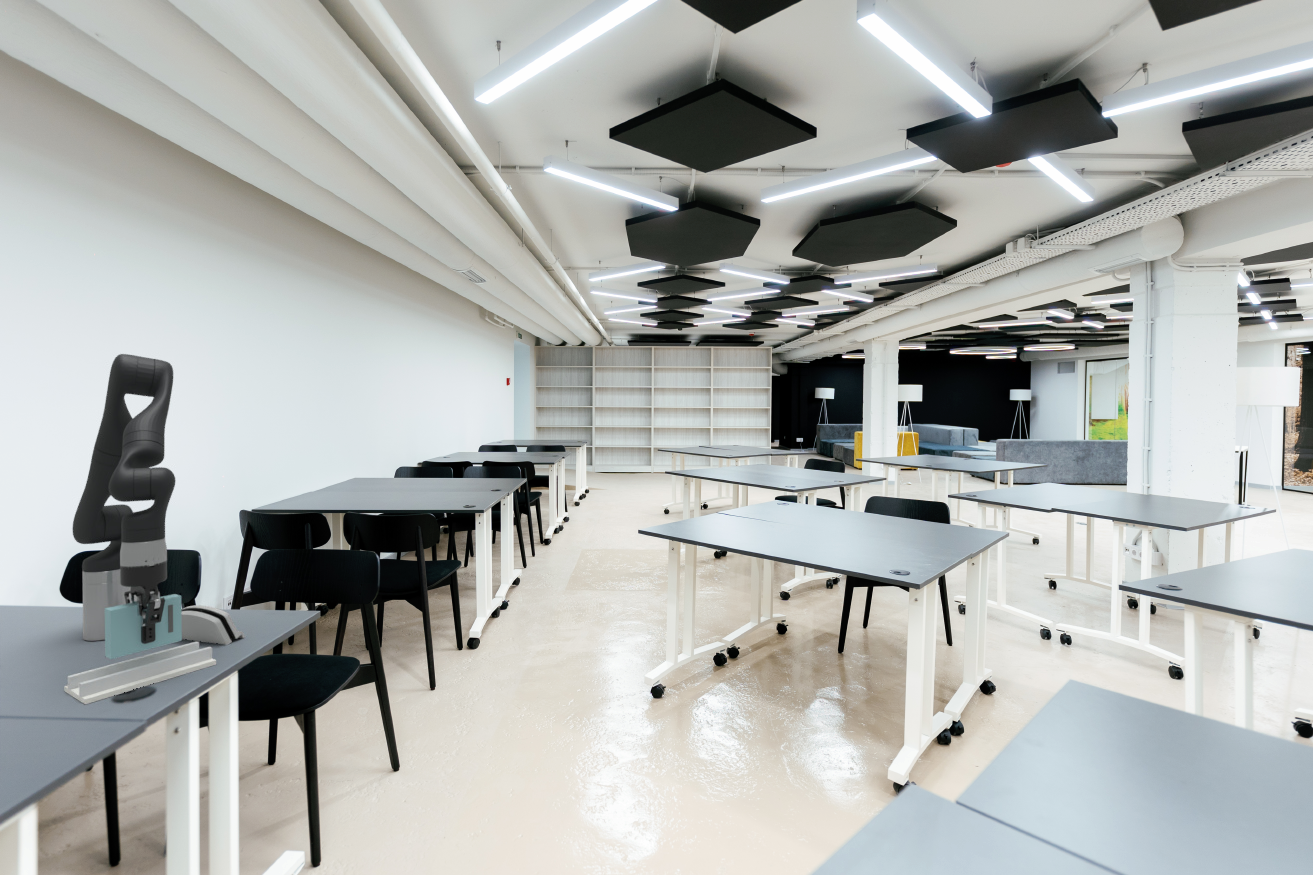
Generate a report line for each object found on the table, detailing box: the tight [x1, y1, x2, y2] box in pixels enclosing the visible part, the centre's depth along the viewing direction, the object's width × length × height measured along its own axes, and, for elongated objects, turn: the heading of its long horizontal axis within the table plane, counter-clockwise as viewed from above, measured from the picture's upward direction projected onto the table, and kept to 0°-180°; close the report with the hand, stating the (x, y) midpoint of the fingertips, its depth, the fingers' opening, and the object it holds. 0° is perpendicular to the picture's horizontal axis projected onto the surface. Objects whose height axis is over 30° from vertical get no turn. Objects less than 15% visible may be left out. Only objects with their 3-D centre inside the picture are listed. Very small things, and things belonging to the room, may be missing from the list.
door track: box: [63, 641, 217, 705], centre depth 125 cm, size 11×22×4 cm, turn 150°
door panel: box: [104, 593, 183, 660], centre depth 125 cm, size 3×12×10 cm, turn 150°
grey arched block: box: [181, 604, 246, 646], centre depth 146 cm, size 17×5×10 cm, turn 76°
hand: (144, 640), depth 125 cm, fingers closed on door panel, 3 cm apart
